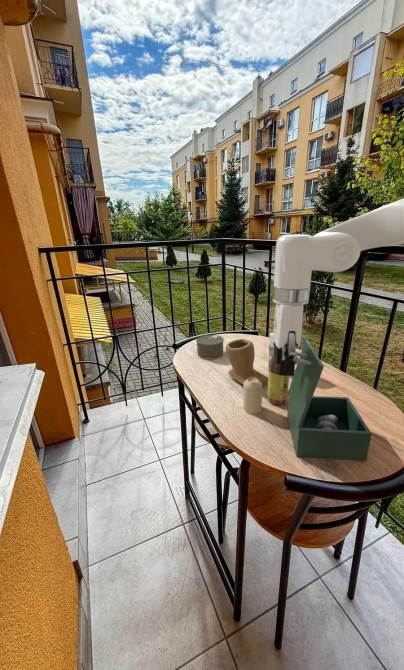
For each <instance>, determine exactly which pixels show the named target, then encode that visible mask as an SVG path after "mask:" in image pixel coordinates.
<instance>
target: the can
mask: <svg viewBox="0 0 404 670" xmlns="http://www.w3.org/2000/svg"><path fill="white" fill-rule="evenodd" d="M195 342H196V355H197V354H198V355H197V356H198V357H199V356H200V357H202V358H201V359H203V358H216V359H218V358H217V357H219V358H221V357H223V356H224V337H223V336H221V335H217V334H204V335H200V336H198V337H197V338H196V339H195ZM220 356H221V357H220ZM200 357H199V358H200Z"/></svg>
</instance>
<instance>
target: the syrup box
mask: <svg viewBox="0 0 404 670" xmlns="http://www.w3.org/2000/svg"><path fill="white" fill-rule="evenodd" d="M268 341H269V342H268V366H267V368H269V362H270V360H271V358H272V357H273V356H274V355H273V353H274V346H273V343H274V337H273V332H270V333H269V339H268Z"/></svg>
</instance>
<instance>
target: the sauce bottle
mask: <svg viewBox="0 0 404 670" xmlns="http://www.w3.org/2000/svg"><path fill="white" fill-rule="evenodd" d="M273 346H274V353H273V355H274V356H273V357H272V358H271V360H270V362H269V361H268V364H269V367H268V371H267V373H268V374H267V377H268V383H267V401H268V402H269V403H270V404H272V405H275V406H283V405H284V404H286V403H287V401H288V398H289V396H288V391H289V387H290V376H281V375H280V374H279V372H280V364H277V362H276V360H277V349H280V348H278V347H277V346H276V344H275V341H274V343H273Z"/></svg>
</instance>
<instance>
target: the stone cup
mask: <svg viewBox="0 0 404 670" xmlns="http://www.w3.org/2000/svg"><path fill="white" fill-rule="evenodd" d="M225 354H226V357H227V359H228V361H229V363H230V365H231V369H229V370H228V375H229V376H230V377H231V378H232V379H234V380H235V381H237V382H238V383H240V384H241V385H242V386H244V382H245V381H246V380H247V379H250V378H251V377H254V378H257V379H258V380H259V381H260V382H261V383H262V387H263V386H265V385H268V376H267V375H265V374H264V373H261V372H260V371H259V370H256V369H255V368H254V364H255V363H254V362H255V354H256V353H255V346H254V344H253V342H252V340H249V339H245V338H237V339H234V340H231V341H229V342H227V344H226V345H225Z"/></svg>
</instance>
